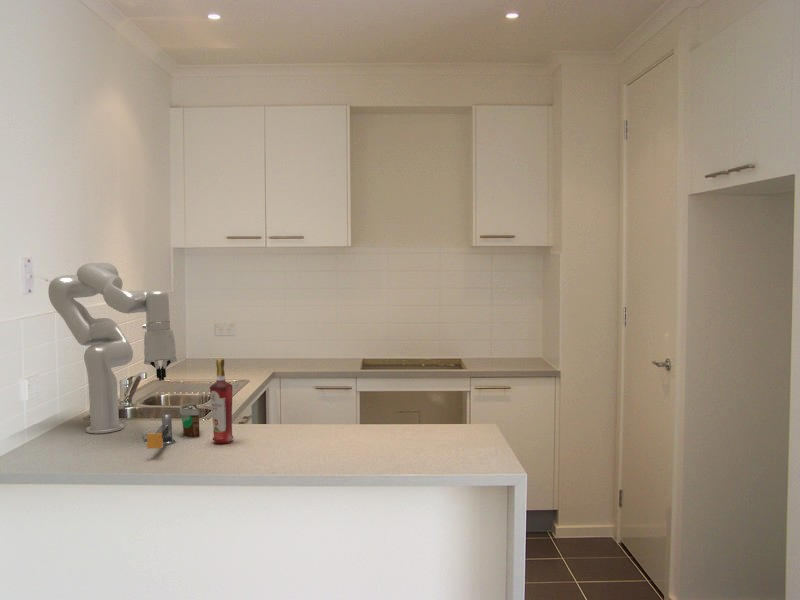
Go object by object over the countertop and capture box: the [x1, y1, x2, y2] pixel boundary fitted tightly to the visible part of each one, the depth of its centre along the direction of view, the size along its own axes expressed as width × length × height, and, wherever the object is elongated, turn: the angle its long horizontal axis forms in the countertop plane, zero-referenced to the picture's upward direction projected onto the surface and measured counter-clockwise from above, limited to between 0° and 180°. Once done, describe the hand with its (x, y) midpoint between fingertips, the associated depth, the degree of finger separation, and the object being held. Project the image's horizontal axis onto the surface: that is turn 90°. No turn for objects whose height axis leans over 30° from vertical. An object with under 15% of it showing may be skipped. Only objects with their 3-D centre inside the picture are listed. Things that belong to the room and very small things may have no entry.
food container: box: [179, 402, 201, 438], centre depth 244 cm, size 12×6×10 cm, turn 21°
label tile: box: [142, 432, 153, 443], centre depth 240 cm, size 8×6×1 cm
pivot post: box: [161, 413, 176, 446], centre depth 233 cm, size 5×5×10 cm
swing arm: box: [146, 424, 169, 449], centre depth 223 cm, size 16×4×4 cm, turn 7°
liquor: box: [209, 358, 234, 445], centre depth 232 cm, size 7×7×28 cm
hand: (161, 379), depth 240 cm, fingers closed
